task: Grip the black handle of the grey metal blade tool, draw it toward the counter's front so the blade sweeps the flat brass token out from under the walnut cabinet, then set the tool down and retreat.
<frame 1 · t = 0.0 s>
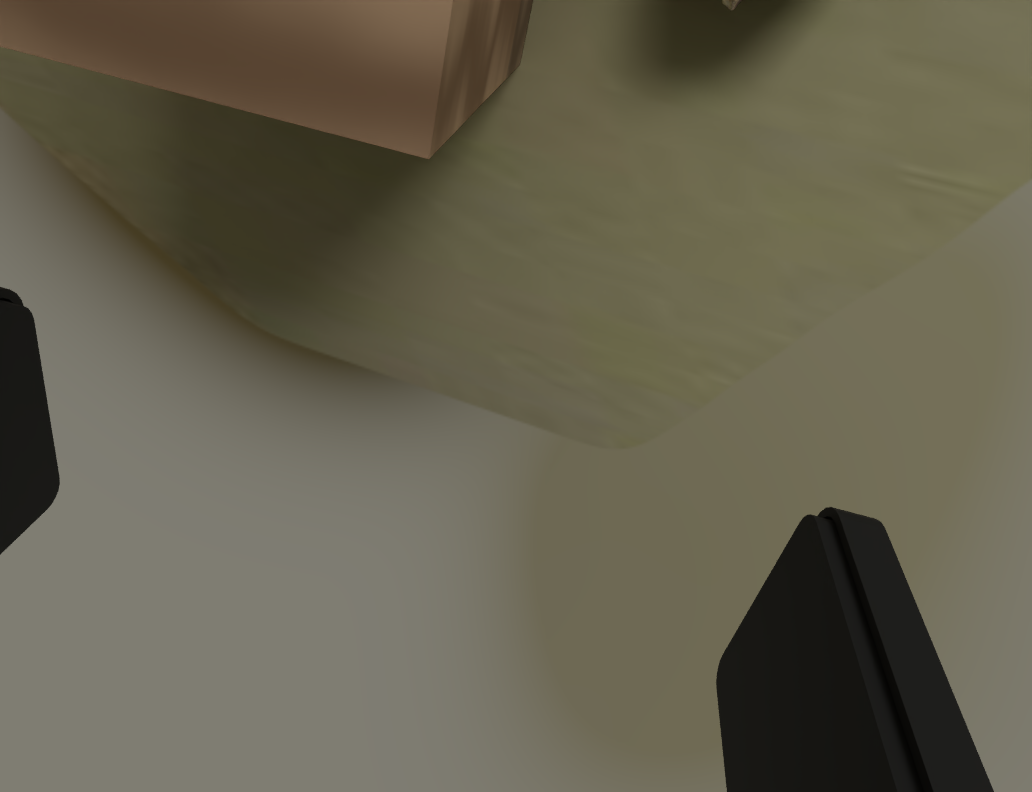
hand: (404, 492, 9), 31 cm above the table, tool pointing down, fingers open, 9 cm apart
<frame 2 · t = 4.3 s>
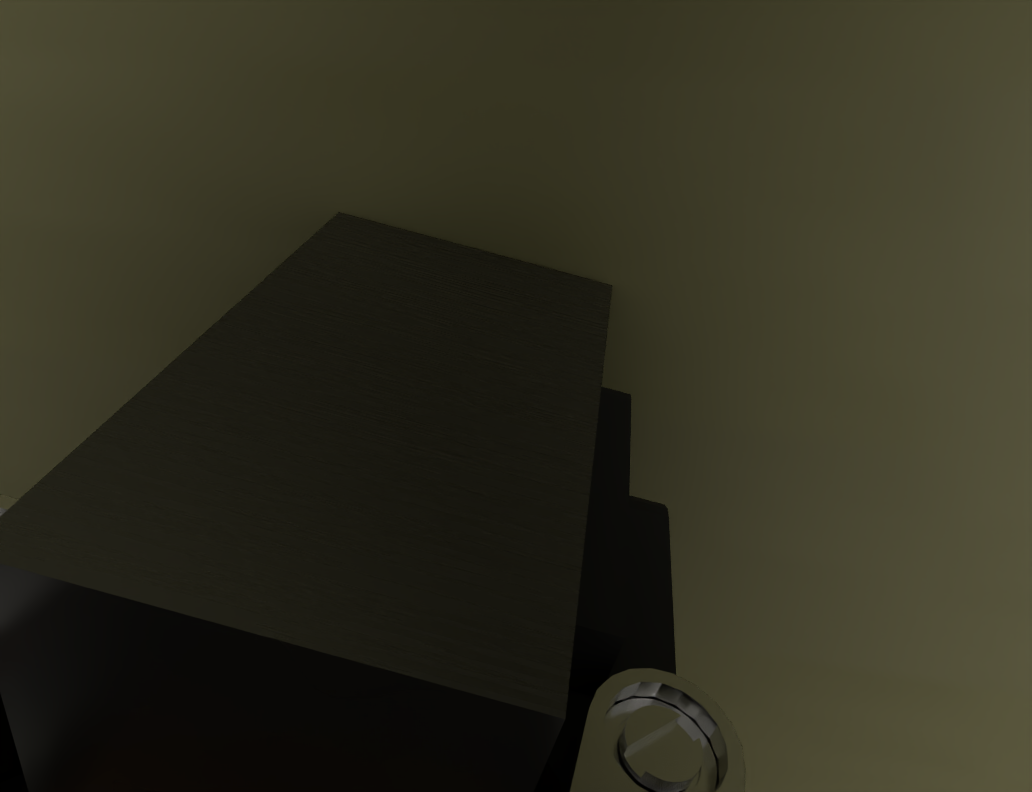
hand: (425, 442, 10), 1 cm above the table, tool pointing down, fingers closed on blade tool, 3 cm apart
blade tool: (443, 410, 10), on the table, touching gripper
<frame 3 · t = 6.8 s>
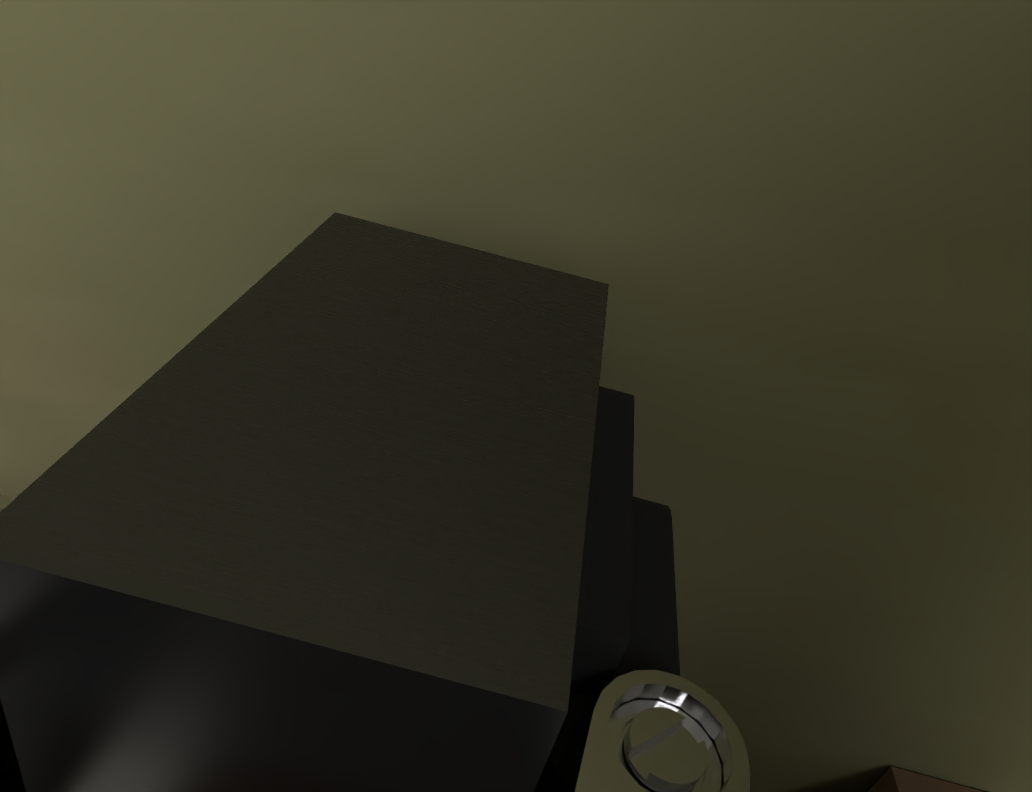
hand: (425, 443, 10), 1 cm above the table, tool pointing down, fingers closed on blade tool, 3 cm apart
blade tool: (440, 410, 10), point 1 cm above the table, touching gripper, token
when the fingers open (1 cm above the table, at t = 9.4 s): blade tool stays where it is, on the table.
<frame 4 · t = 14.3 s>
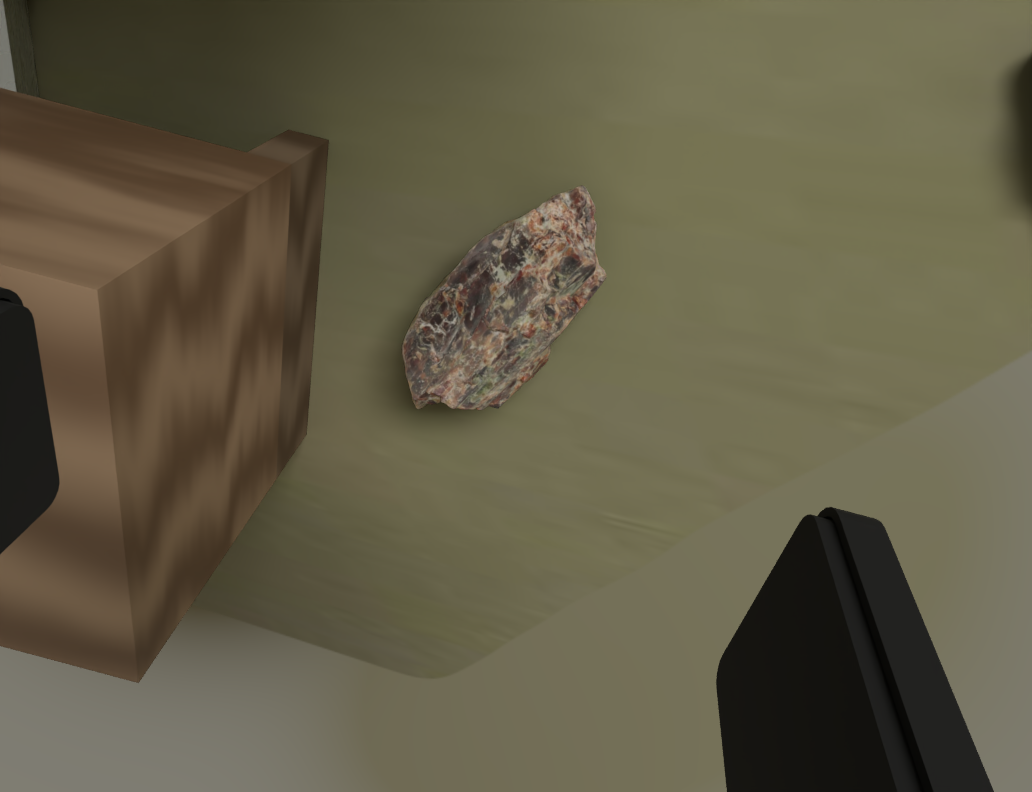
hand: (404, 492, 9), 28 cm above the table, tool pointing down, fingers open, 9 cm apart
cabinet: (193, 272, 40), on the table
rock: (508, 276, 38), on the table
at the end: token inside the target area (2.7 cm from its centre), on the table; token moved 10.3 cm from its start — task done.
